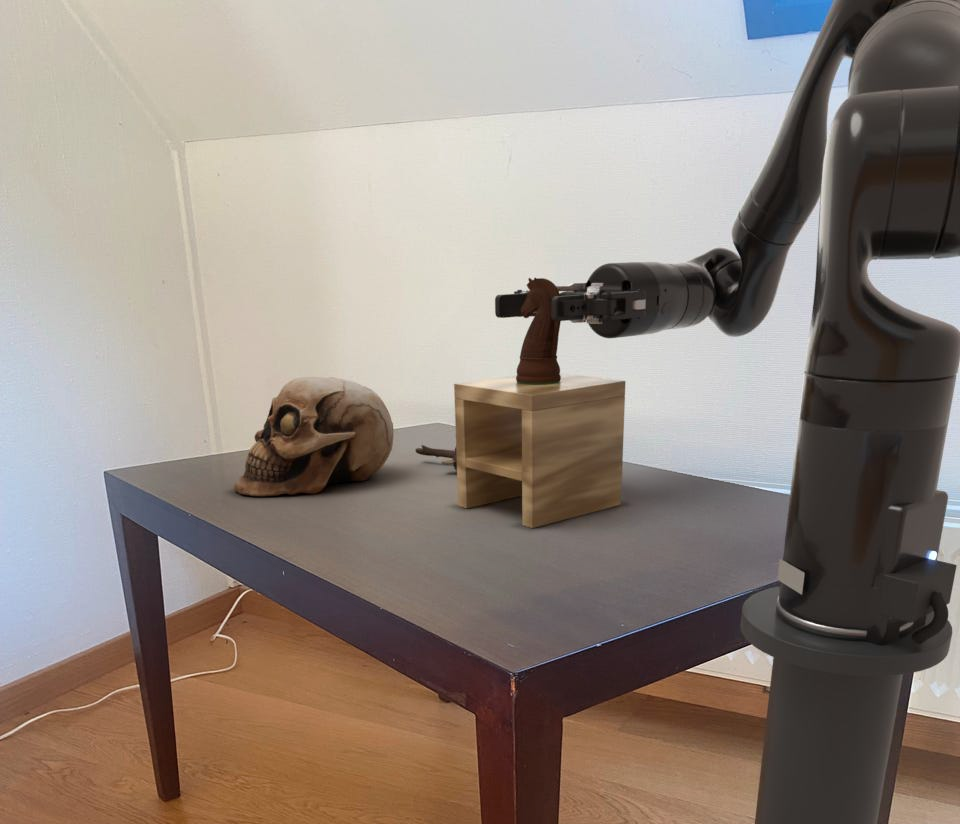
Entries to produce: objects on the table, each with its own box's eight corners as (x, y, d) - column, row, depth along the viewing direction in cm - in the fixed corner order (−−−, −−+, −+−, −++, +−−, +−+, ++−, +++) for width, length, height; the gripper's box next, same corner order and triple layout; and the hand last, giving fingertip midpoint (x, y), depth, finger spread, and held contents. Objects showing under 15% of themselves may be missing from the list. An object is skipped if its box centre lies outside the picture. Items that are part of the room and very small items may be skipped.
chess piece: (535, 377, 97) (535, 276, 93) (573, 381, 94) (575, 276, 90) (507, 382, 94) (505, 278, 90) (545, 386, 91) (545, 278, 87)
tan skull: (222, 492, 107) (217, 374, 103) (302, 476, 122) (301, 372, 118) (339, 507, 102) (339, 383, 97) (407, 488, 117) (410, 380, 113)
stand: (621, 504, 99) (625, 380, 93) (532, 528, 91) (532, 395, 86) (545, 485, 107) (545, 371, 102) (458, 506, 100) (453, 383, 95)
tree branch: (573, 435, 119) (519, 445, 107) (571, 469, 120) (518, 481, 108) (456, 425, 128) (395, 433, 116) (456, 457, 129) (395, 467, 117)
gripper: (589, 262, 103) (477, 266, 94) (690, 261, 93) (576, 266, 83) (587, 332, 106) (479, 343, 97) (685, 338, 96) (575, 352, 86)
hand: (524, 307), depth 90 cm, fingers open, 8 cm apart
